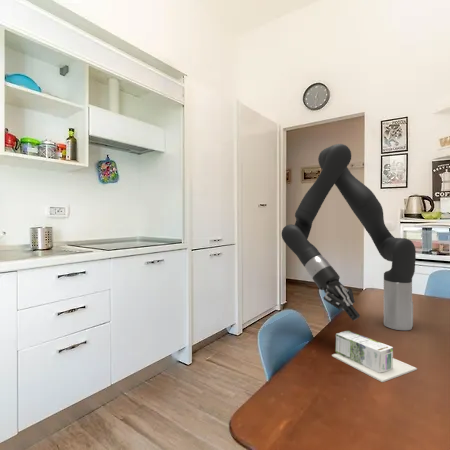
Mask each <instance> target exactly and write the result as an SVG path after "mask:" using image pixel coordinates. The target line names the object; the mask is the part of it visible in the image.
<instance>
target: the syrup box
mask: <svg viewBox="0 0 450 450" xmlns="http://www.w3.org/2000/svg"><path fill="white" fill-rule="evenodd" d="M334 345H335V349H334V351H335V354H336V353H338V354H340V355H342V356H345V357H347V358H349V359H351V360H353V361H355V362H357V363H359V364H362V365H364V366H366V367H368V368H370V369H372V370H374V371H376V372H378V373H381V372H385V371H388V370H390V369H392V368H393V358H394V347H393V346H391V345H388V344H385V343H384V342H383V343H382V342H381V341H377V340H375V339H372V338H370V337H367V336H365V335H361V334H358V333H356V332H353V331H351V330H344V331H341V332H337V333H335V344H334Z"/></svg>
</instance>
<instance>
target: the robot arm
mask: <svg viewBox="0 0 450 450" xmlns="http://www.w3.org/2000/svg"><path fill="white" fill-rule="evenodd" d="M351 160H352V151H351V149H350V148H349V147H348V145H346V144H343V143H336V144H332V145H330V146H328V147H326V148H324V149H323V150H321V151H320V152H319V154H318V159H317V161H318V165H319V167H320V169H321V171H320V173H319V174H318V177H317V178H316V179H315V181H314V183H313V184H312V185H311V186H310V188H309V189H308V190H307V192H306V193H305V194H304V196H303V197H302V199H301V201H300V203H299V205H298V207H297V208H296V211H295V214H294V217H295V223H294V224H287V225H285V226H284V227H283V228H282V230H281V237H282V238H281V239H282V240H283V242H284V243H285V245H286V246H287V247H288V248H289V249H290V250H291V252H292V253H293V254H295V255H296V257H297V258H298V260H299V262H300V263H301V264H302V265H303V267H304V268H305V270H306V272H307V274H308V275H309V276H310V278H311V279H312V281H313V282H314V283H315V284H316V286H317V288H318V289H319V290H321V291H323V292H324V293H325V295H324V296H323V298H322V299H323V300H324V301H326V302H327V303H328V304H330V305H331V306H333V307H335V308H336V309H337V310H342V311H344V312H345V313H346V314H347V315H348V316H349V318H350V319H351V320H352V321H353V322H354V321H356V320H358V319H359V318H360V317H361V315H360V314H359V312H358V311H357V310H356V308H355V307H354V306H353V305H354V304H355V303H356V301H355V298H354V297H355V296H354V293H353V290H352V288H351V287H348V288H346V287H345V286H344V284H342V283H341V282H340V278H341V277H340V275H339V273H337V271H336V270H335V268H334V267H333V266H332V265H331V264H330V263H329V261H328V260H327V258H325V257H324V256H323V255H322V253H321V252H320V251H319V250H318V248H317V247H316V246H315V245H313V244H312V243H311V242H310V241H309V240H308V239H309V236H310V232H311V230H312V226H313V222H314V221H315V219H316V217H317V215H318V213H319V211H320V209H321V208H322V205H323V204H324V201H326V198H327V196H328V195H329V193H330V191H331V190H332V188H333V187H334V185H335V187H336V188H337V189H338V191H339V192H340V194H341V196H342V197H343V199H344V200H345V201H346V203H347V205H348V206H349V208H350V209H351V211H352V212H353V214H354V215H355V216H356V217H357V219H358V220H359V221H360V223H361V225H362V226H363V227H364V229H365V231H366V232H367V233H368V235H369V236H370V238H371V240H372V242H373V243H374V246H375V248H376V250H377V251H378V253H379V255H380V256H381V257H382V258H383V259H384V260H386V261H388V262H391V268H390V269H389V270H386V271H385V272H383V325H384V327H387V328H389V329H392V330H397V331H411V330H413V327H414V302H413V277H414V275H415V271H416V257H417V255H416V253H417V252H416V247H415V244H414V242H413V241H412V240H411V239H409V238H406V237H405V238H402V237H395V236H394V235H393V234H392V233H391V232H390V231H389V229H388V228H387V226H386V224H385V218H384V210H383V206H382V204H381V202H380V201H379V200H378V198H377V197H376V195H375V193H374V192H373V191H372V190H371V189H370V188H369V187H367V185H365V184H364V183H362V181H360V180H359V179H358V178H356V177H355V176H354V175H353V173H351V170H349V168H348V166H349V164H350V163H351Z"/></svg>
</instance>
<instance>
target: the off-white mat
mask: <svg viewBox="0 0 450 450" xmlns="http://www.w3.org/2000/svg"><path fill="white" fill-rule="evenodd" d="M331 357H333V358H335V359H336V360H338V361H340V362H343V363H344V364H346V365H348V366H350V367H352V368H354V369H356V370H358V371H359V372H362V373H364V374H365V375H367V376H369V377H371V378H373V379H375V380H377V381H379V382H381V383H385V382H387V381H390V380H393V379H395V378H398V377H401V376H403V375H406V374H409V373H412V372H414V371H417V370H418V367H415V366H413V365H410V364H408V363H406V362H403V361H401V360H399V359H396V358H394V357H393V368H392V369H390V370H388V371H385V372H381V373H378V372H376V371H374V370H372V369H370V368H368V367H366V366H364V365H362V364H359V363H357V362H355V361H353V360H351V359H349V358H347V357H345V356H342V355H340V354H338V353H336V352H335V353H333V354H331Z"/></svg>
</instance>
